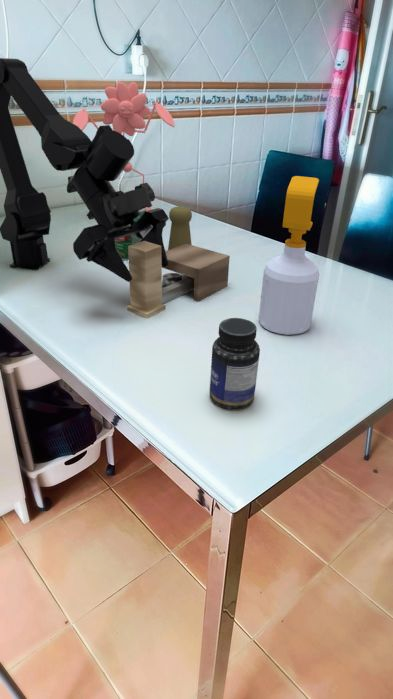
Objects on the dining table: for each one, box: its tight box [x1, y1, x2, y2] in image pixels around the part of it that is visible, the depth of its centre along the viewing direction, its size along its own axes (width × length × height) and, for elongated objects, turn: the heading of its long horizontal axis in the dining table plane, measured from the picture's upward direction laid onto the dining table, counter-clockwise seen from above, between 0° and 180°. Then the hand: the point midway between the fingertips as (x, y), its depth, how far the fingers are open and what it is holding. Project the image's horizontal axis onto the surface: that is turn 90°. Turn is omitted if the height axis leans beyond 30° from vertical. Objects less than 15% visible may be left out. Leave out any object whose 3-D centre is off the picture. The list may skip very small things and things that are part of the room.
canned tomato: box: [115, 208, 146, 261], centre depth 109 cm, size 8×8×11 cm
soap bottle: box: [258, 175, 320, 336], centre depth 78 cm, size 9×9×25 cm
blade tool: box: [126, 241, 194, 319], centre depth 88 cm, size 5×18×12 cm, turn 142°
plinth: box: [162, 244, 231, 302], centre depth 95 cm, size 11×10×6 cm
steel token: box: [162, 272, 183, 288], centre depth 97 cm, size 4×4×2 cm
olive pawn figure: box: [167, 205, 193, 251], centre depth 111 cm, size 6×6×11 cm
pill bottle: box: [209, 317, 261, 411], centre depth 62 cm, size 6×6×11 cm
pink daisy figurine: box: [72, 81, 176, 220], centre depth 124 cm, size 15×26×35 cm, turn 110°
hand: (149, 273), depth 83 cm, fingers open, 9 cm apart
